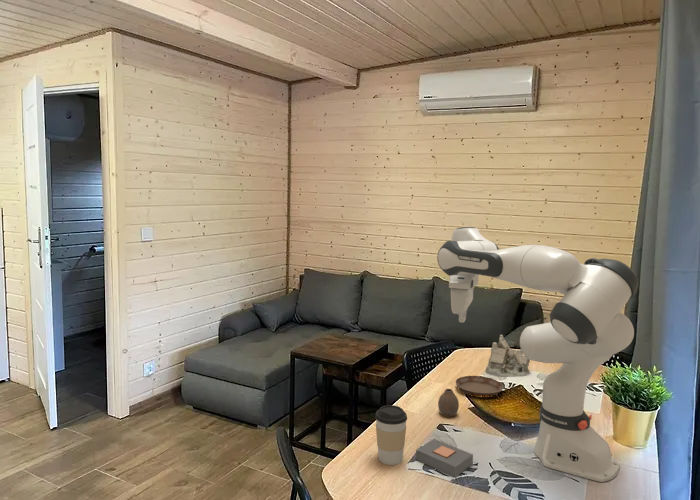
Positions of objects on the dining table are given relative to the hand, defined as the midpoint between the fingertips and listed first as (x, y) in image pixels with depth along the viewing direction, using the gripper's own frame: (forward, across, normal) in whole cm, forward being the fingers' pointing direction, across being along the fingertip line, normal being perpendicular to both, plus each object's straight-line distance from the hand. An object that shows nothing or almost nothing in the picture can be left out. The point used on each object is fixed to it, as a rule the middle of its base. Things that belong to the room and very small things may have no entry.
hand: (462, 321), depth 163 cm
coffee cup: (+35, +27, -15) cm, 47 cm away
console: (+35, +24, 0) cm, 42 cm away
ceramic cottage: (+36, -58, +11) cm, 69 cm away
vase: (+35, -8, -5) cm, 37 cm away
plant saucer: (+36, -33, +2) cm, 49 cm away
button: (+35, +24, 0) cm, 42 cm away
